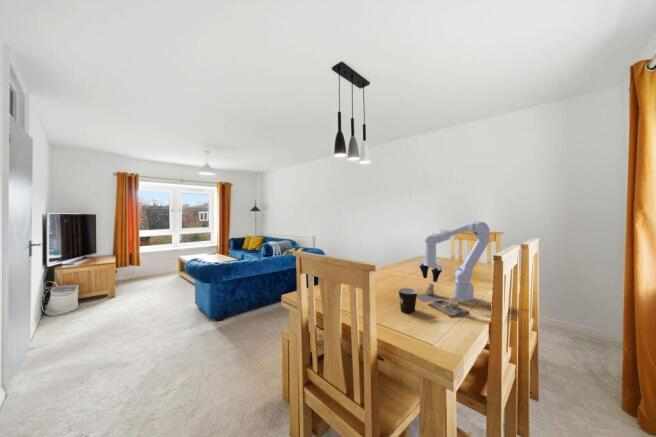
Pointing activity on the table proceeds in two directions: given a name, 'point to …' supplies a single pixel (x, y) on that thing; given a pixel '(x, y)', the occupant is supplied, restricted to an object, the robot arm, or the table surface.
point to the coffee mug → (407, 300)
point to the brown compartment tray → (447, 308)
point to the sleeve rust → (429, 289)
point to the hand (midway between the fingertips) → (430, 279)
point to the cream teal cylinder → (453, 303)
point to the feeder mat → (428, 297)
